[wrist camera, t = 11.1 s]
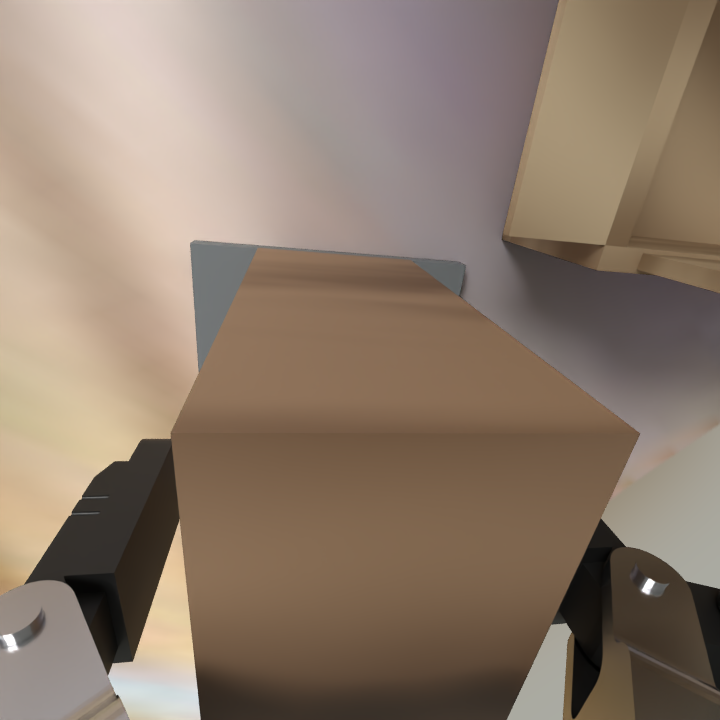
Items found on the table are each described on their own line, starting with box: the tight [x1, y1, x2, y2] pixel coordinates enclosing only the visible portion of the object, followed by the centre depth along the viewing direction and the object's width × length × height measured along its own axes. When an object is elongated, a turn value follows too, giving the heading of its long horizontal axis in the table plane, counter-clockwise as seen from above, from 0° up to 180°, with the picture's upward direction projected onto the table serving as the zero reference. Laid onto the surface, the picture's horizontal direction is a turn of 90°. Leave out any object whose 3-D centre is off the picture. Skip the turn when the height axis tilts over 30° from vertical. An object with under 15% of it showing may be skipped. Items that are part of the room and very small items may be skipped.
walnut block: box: [171, 248, 640, 720], centre depth 10 cm, size 9×5×10 cm, turn 174°
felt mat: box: [190, 240, 466, 372], centre depth 15 cm, size 9×9×1 cm
